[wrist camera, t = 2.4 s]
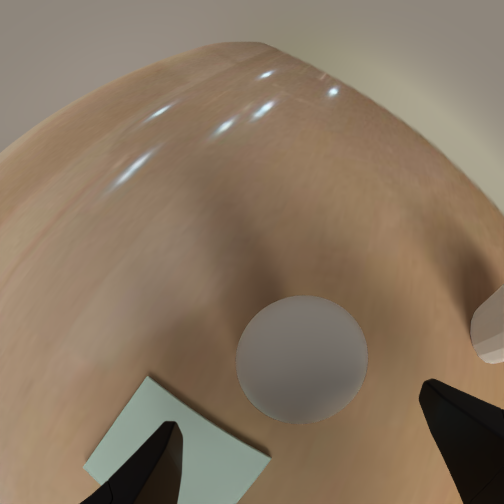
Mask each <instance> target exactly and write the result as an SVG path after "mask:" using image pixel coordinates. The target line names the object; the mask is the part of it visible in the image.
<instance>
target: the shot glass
mask: <svg viewBox="0 0 504 504" xmlns="http://www.w3.org/2000/svg"><path fill="white" fill-rule="evenodd" d="M470 335H471V340H472V345H473V347H474V349H475V351H476V353H477V355H478V356H479V357H480V358H481V359H482V360H483V361H484V362H486V363H492V364H495V363H499V362H504V284H503V285H502V286H501V287H500V288H499V289H498V290H497V291H496V292H495V293H493V294H492V295H491V296H490V297H489V298H488V299H487V300H486V301H485V302H484V303H482V304H481V305H480V306H479V307H478V308H477V309H476V311H475V312H474V315H473V317H472V320H471V329H470Z"/></svg>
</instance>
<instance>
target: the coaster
mask: <svg viewBox="0 0 504 504" xmlns="http://www.w3.org/2000/svg"><path fill="white" fill-rule="evenodd" d="M164 421H176V422H177V424H178V426H179V428H180V430H181V433H182V435H183V461H182V478H181V485H180V491H179V497H178V503H177V504H236V503H237V502H238V501H239V500H240V498H241V497H242V496H243V495H244V494H245V492H246V491H247V490H248V489H249V487H250V486H251V485H252V484H253V482H254V481H255V480H256V479H257V477H258V476H259V475H260V473H261V472H262V471H263V469H264V468H265V467H266V465H267V464H268V463H269V461H270V460H271V457H270V456H268V455H266V454H264V453H263V452H261V451H259V450H257V449H255V448H254V447H252V446H250V445H248V444H247V443H245V442H243V441H241V440H240V439H238V438H236V437H235V436H233V435H231V434H230V433H228V432H226V431H225V430H223V429H222V428H220V427H219V426H217V425H215V424H214V423H212V422H211V421H209V420H208V419H206V418H205V417H203V416H202V415H200V414H199V413H197V412H196V411H195V410H193V409H192V408H190V407H189V406H188V405H186V404H185V403H183V402H182V401H181V400H179V399H178V398H177V397H175V396H174V395H173V394H171V393H170V392H169V391H167V390H166V389H165V388H163V387H162V386H161V385H160V384H158V383H157V382H156V381H155V380H153V379H152V378H151V377H149V376H147V377H146V378H145V380H144V381H143V383H142V384H141V385H140V387H139V388H138V390H137V391H136V392H135V394H134V395H133V397H132V398H131V399H130V401H129V402H128V404H127V405H126V406H125V408H124V409H123V411H122V412H121V414H120V415H119V416H118V418H117V419H116V421H115V422H114V423H113V425H112V426H111V428H110V429H109V431H108V432H107V433H106V435H105V436H104V438H103V439H102V441H101V442H100V443H99V445H98V446H97V448H96V449H95V451H94V452H93V453H92V455H91V456H90V458H89V459H88V461H87V462H86V464H85V465H84V466H83V468H84V469H85V470H86V471H87V472H88V473H89V474H90V475H91V476H92V477H93V478H94V479H95V480H96V481H97V482H98V483H99V484H100V485H101V486H102V485H103V484H104V483H105V482H106V481H108V479H109V478H110V477H111V476H112V475H113V474H114V473H115V472H116V471H117V470H118V469H119V468H120V467H121V466H122V465H123V464H124V463H125V462H126V461H127V460H128V459H129V458H130V457H131V456H132V455H133V454H134V453H135V452H136V451H137V450H138V449H139V447H140V446H141V445H142V444H143V443H144V442H145V441H146V440H147V439H148V438H149V437H150V436H151V435H152V434H153V433H154V432H155V431H156V430H157V429H158V427H159V426H160V425H161V424H162V423H163V422H164Z"/></svg>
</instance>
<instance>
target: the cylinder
mask: <svg viewBox="0 0 504 504" xmlns="http://www.w3.org/2000/svg"><path fill="white" fill-rule="evenodd" d="M367 366H368V350H367V344H366V340H365V337H364V334H363V332H362V330H361V328H360V326H359V324H358V323H357V322H356V320H355V319H354V318H353V317H352V316H351V314H350V313H349V312H348V311H346V310H345V309H344V308H342V307H341V306H339V305H338V304H336V303H334V302H332V301H330V300H328V299H324V298H321V297H317V296H309V295H300V296H292V297H287V298H284V299H281V300H278V301H276V302H274V303H271V304H270V305H268V306H267V307H265V308H263V309H262V310H261V311H260V312H258V313H257V314H256V315H255V316H254V317H253V318H252V320H251V321H250V322H249V323H248V325H247V326H246V328H245V330H244V331H243V333H242V335H241V338H240V340H239V343H238V347H237V351H236V371H237V377H238V380H239V383H240V386H241V388H242V390H243V392H244V393H245V395H246V397H247V398H248V399H249V401H250V402H251V403H252V404H253V405H254V406H255V407H256V408H257V409H258V410H259V411H261V412H262V413H264V414H265V415H267V416H269V417H271V418H273V419H275V420H278V421H281V422H285V423H291V424H308V423H314V422H318V421H322V420H324V419H327V418H329V417H331V416H333V415H335V414H337V413H338V412H339V411H341V410H342V409H343V408H345V407H346V406H347V405H348V404H349V403H350V402H351V401H352V399H353V398H354V397H355V396H356V394H357V393H358V391H359V390H360V388H361V386H362V384H363V381H364V379H365V375H366V372H367Z"/></svg>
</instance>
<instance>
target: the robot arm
mask: <svg viewBox="0 0 504 504" xmlns="http://www.w3.org/2000/svg"><path fill="white" fill-rule="evenodd" d="M419 402H420V405H421V408H422V410H423V413H424V416H425V418H426V421H427V424H428V427H429V429H430V432H431V434H432V436H433V438H434V440H435V442H436V444H437V446H438V448H439V450H440V452H441V454H442V456H443V459H444V461H445V463H446V465H447V467H448V469H449V471H450V474H451V476H452V478H453V480H454V483H455V485H456V487H457V490H458V492H459V494H460V497H461V499H462V501H463V504H504V409H502V410H501V408H499V407H496V406H494V405H492V404H489V403H487V402H485V401H483V400H480V399H478V398H476V397H474V396H471V395H469V394H467V393H465V392H462V391H460V390H458V389H456V388H454V387H451V386H449V385H447V384H445V383H443V382H441V381H438V380H436V379H429V380H426V381H424V383H423V385H422V388H421V391H420V394H419ZM182 461H183V435H182V433H181V430H180V428H179V426H178V424H177V422H176V421H164V422H163V423H162V424H161V425H160V426H159V427H158V429H157V430H156V431H155V432H154V433H153V434H152V435H151V436H150V437H149V438H148V439H147V440H146V441H145V442H144V443H143V444H142V445H141V446H140V447H139V449H138V450H137V451H136V452H135V453H134V454H133V455H132V456H131V457H130V458H129V459H128V460H127V461H126V462H125V463H124V464H123V465H122V466H121V467H120V468H119V469H118V470H117V471H116V472H115V473H114V474H113V475H112V476H111V477H110V478H109V479H108V481H106V482H105V483H104V484H103V485H102V486H101V487H99V488H98V489H97V490H96V491H95V492H94V493H93V494H92V495H90V496H89V497H88V498H86V499H85V500H84V501H82V502H81V503H80V504H177V503H178V497H179V491H180V485H181V478H182Z"/></svg>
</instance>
